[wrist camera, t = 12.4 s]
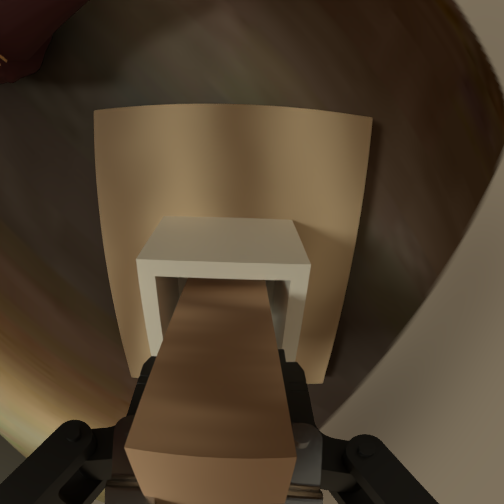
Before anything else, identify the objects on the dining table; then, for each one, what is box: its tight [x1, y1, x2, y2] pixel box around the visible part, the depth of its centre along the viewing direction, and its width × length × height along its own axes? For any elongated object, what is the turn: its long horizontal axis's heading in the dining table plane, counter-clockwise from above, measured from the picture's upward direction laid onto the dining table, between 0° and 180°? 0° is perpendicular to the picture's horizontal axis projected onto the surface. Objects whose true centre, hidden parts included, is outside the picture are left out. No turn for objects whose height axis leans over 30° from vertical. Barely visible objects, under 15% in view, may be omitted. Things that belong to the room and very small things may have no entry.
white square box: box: [136, 216, 311, 362], centre depth 16 cm, size 7×7×5 cm
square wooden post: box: [124, 278, 297, 504], centre depth 11 cm, size 3×3×12 cm
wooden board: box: [94, 104, 373, 384], centre depth 18 cm, size 14×18×1 cm
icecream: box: [0, 0, 89, 84], centre depth 9 cm, size 7×7×15 cm
